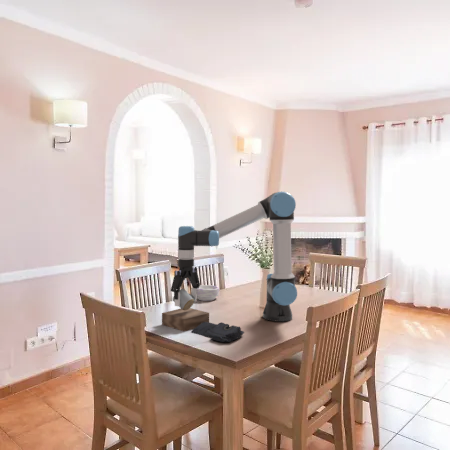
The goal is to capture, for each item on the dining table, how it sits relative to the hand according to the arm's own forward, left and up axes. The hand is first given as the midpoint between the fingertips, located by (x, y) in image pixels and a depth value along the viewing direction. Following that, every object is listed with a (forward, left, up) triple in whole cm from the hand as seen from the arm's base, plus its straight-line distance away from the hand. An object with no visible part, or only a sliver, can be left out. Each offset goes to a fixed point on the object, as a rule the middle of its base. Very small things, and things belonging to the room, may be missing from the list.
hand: (185, 303), depth 202 cm
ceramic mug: (0, 0, -3) cm, 3 cm away
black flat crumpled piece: (-20, +1, -11) cm, 23 cm away
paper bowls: (+25, -47, -10) cm, 54 cm away
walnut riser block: (0, 0, -10) cm, 10 cm away
